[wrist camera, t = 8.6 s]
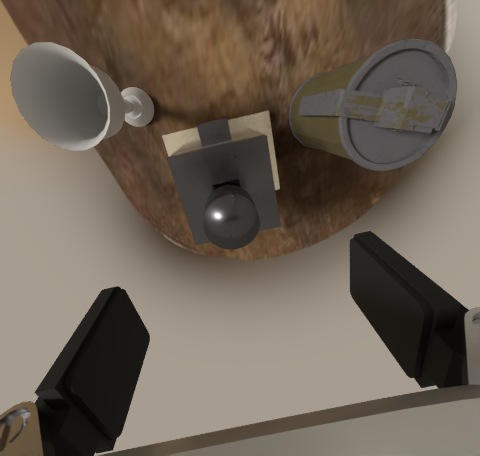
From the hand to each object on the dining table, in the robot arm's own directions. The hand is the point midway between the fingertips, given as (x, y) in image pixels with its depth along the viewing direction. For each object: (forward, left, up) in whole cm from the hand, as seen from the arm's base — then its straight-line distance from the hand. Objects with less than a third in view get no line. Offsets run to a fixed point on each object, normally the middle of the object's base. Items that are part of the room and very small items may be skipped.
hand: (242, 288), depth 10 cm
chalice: (+11, -10, -32) cm, 35 cm away
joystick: (0, 0, -32) cm, 32 cm away
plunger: (0, 0, -29) cm, 29 cm away
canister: (-16, -4, -32) cm, 36 cm away
